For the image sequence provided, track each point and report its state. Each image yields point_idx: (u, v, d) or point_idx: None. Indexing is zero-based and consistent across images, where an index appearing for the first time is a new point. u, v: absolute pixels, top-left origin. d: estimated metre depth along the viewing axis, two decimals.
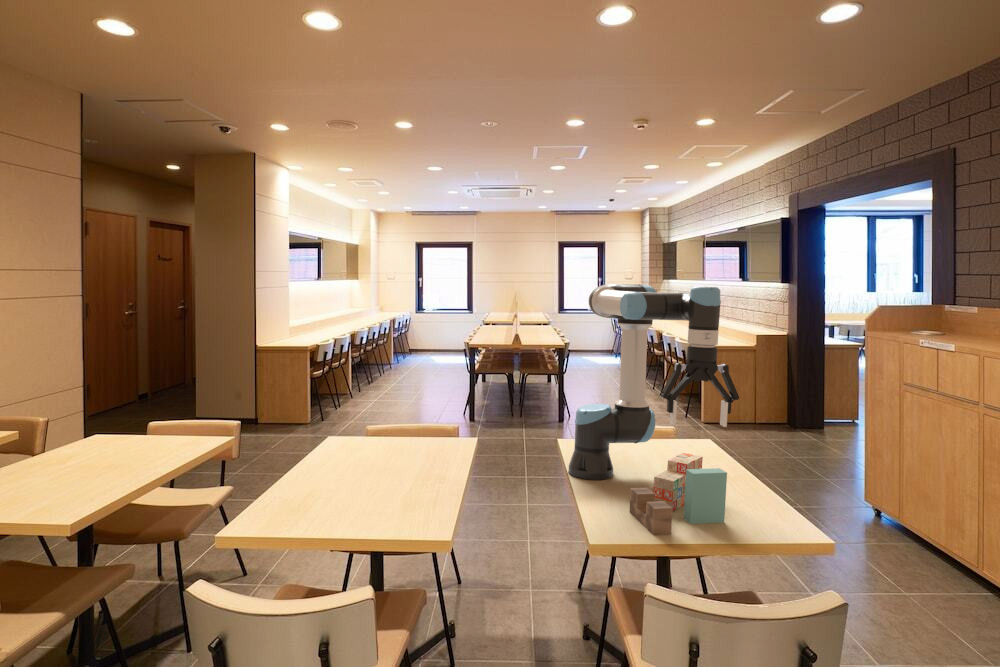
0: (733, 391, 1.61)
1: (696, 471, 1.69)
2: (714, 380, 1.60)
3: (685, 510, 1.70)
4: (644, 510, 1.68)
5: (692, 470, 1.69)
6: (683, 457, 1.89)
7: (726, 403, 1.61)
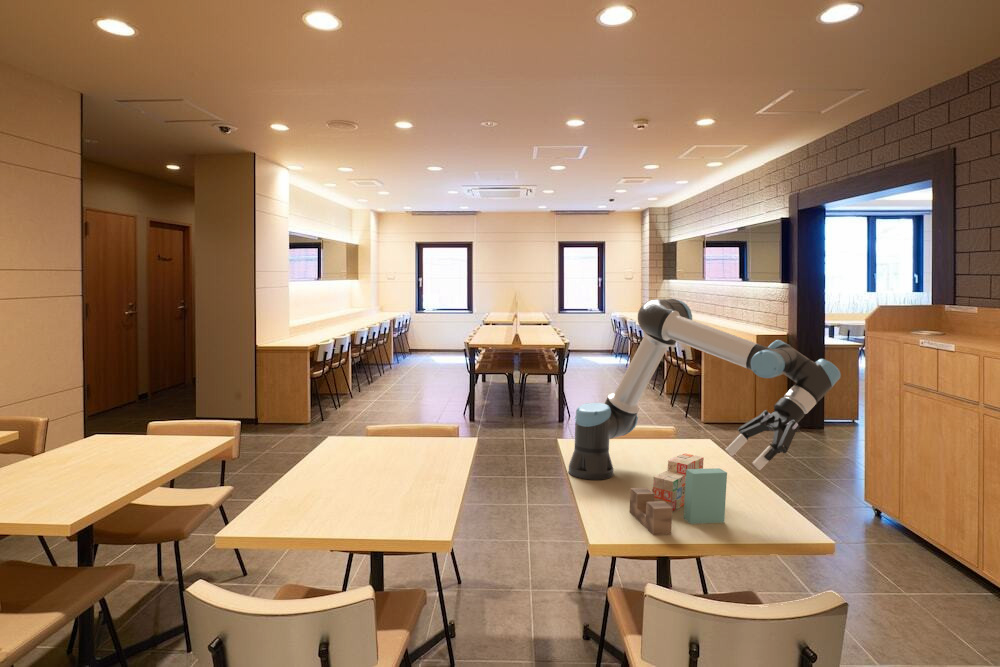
0: (781, 440, 1.63)
1: (696, 471, 1.69)
2: (775, 426, 1.68)
3: (685, 510, 1.70)
4: (644, 510, 1.68)
5: (692, 470, 1.69)
6: (684, 457, 1.89)
7: (768, 446, 1.64)
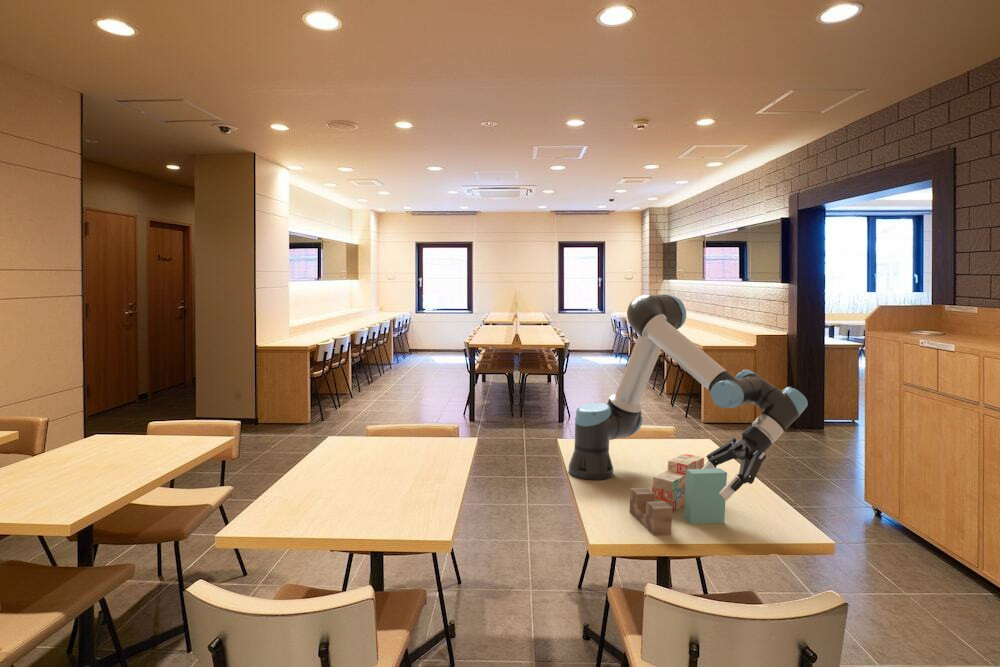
0: (747, 470, 1.62)
1: (696, 471, 1.69)
2: (742, 455, 1.67)
3: (685, 510, 1.70)
4: (644, 510, 1.68)
5: (692, 470, 1.69)
6: (684, 457, 1.88)
7: (735, 476, 1.63)
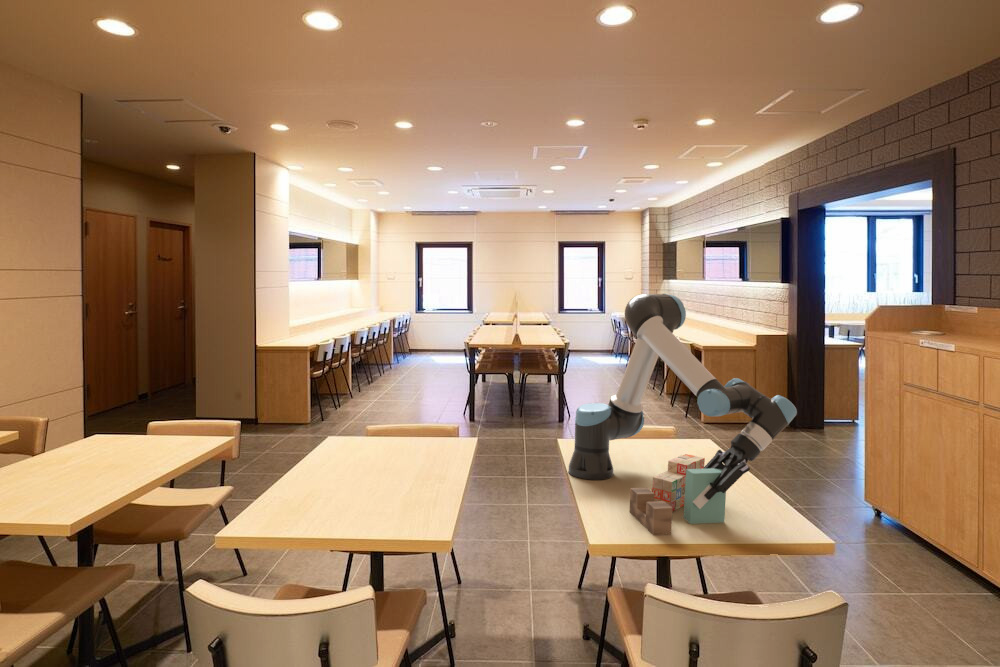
0: (723, 480, 1.65)
1: (696, 471, 1.69)
2: (726, 464, 1.68)
3: (685, 510, 1.70)
4: (644, 510, 1.68)
5: (692, 470, 1.69)
6: (685, 458, 1.88)
7: (708, 485, 1.67)
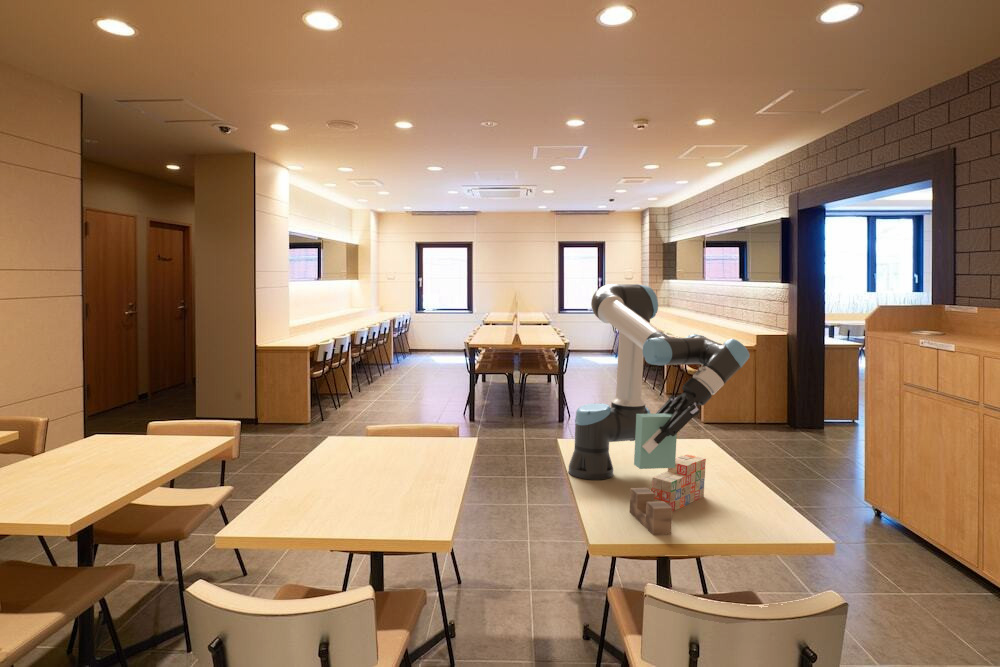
0: (672, 423, 1.61)
1: (646, 415, 1.64)
2: (676, 407, 1.64)
3: (635, 456, 1.66)
4: (644, 510, 1.68)
5: (643, 414, 1.65)
6: (685, 458, 1.87)
7: (658, 429, 1.63)
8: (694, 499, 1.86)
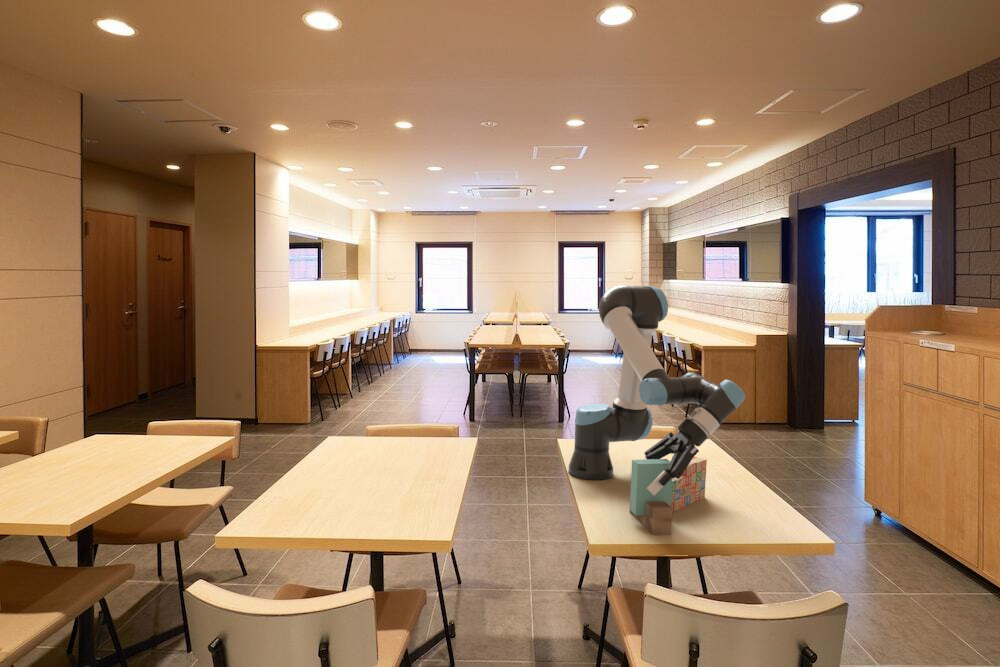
0: (676, 465, 1.59)
1: (642, 461, 1.66)
2: (675, 449, 1.64)
3: (631, 501, 1.67)
4: None
5: (638, 460, 1.66)
6: None
7: (663, 471, 1.61)
8: (694, 500, 1.85)
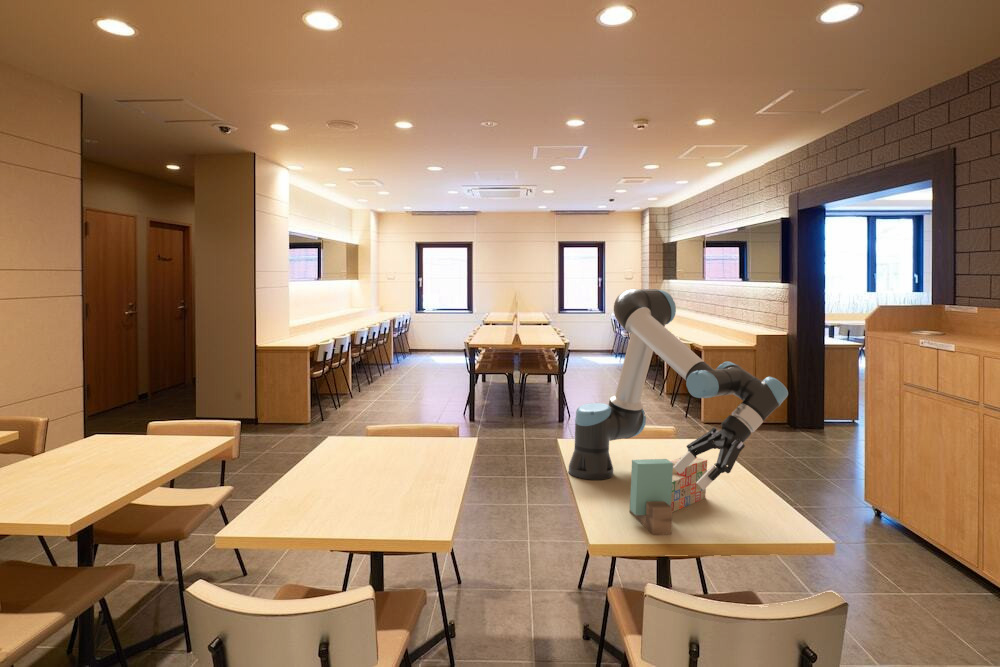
0: (725, 459, 1.60)
1: (642, 461, 1.66)
2: (720, 445, 1.66)
3: (631, 501, 1.67)
4: None
5: (638, 460, 1.66)
6: None
7: (713, 466, 1.62)
8: (695, 500, 1.84)
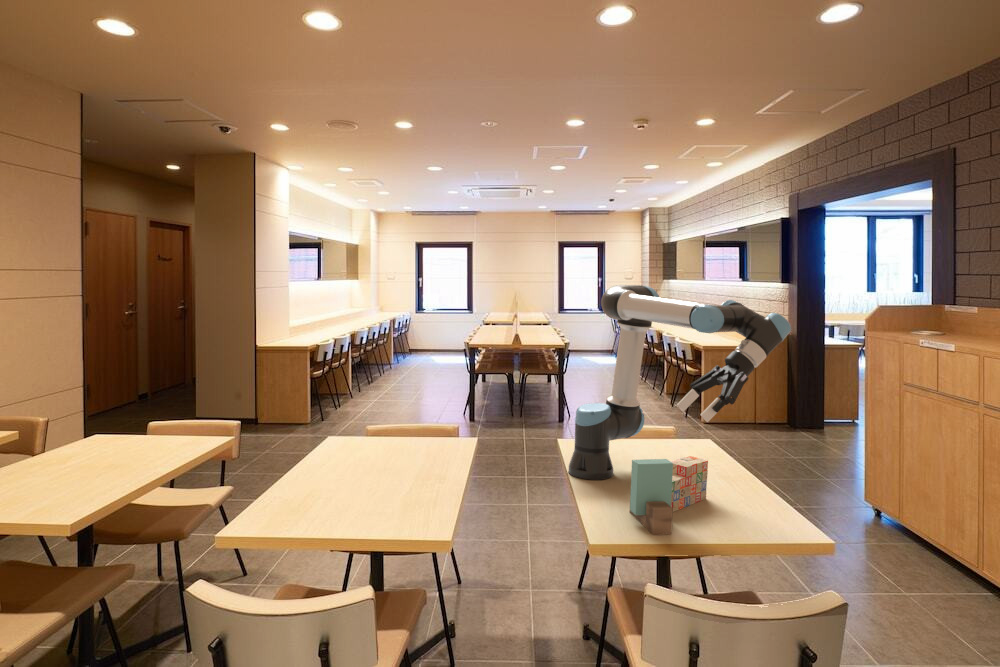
0: (729, 391, 1.61)
1: (642, 461, 1.66)
2: (724, 379, 1.67)
3: (631, 501, 1.67)
4: None
5: (638, 460, 1.66)
6: (687, 459, 1.86)
7: (717, 398, 1.63)
8: (695, 501, 1.84)
